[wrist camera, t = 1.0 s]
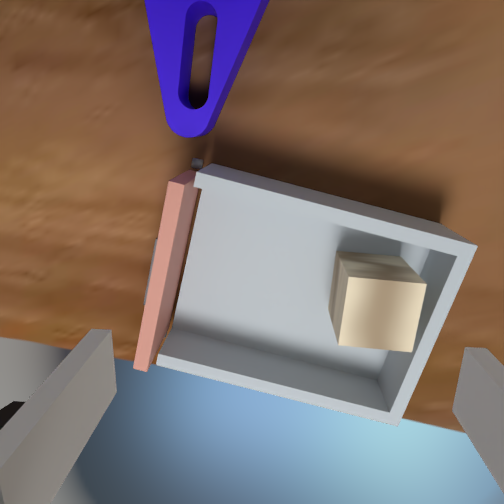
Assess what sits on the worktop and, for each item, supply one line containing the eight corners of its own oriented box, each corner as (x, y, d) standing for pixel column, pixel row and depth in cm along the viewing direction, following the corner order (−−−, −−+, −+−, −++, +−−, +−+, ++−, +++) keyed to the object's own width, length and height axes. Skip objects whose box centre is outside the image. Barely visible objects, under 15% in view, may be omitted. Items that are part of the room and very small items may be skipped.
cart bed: (162, 323, 45) (139, 363, 37) (197, 156, 39) (178, 163, 32) (376, 378, 45) (396, 428, 38) (440, 220, 40) (479, 242, 32)
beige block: (327, 308, 40) (338, 345, 33) (336, 250, 38) (348, 276, 32) (389, 314, 40) (412, 352, 33) (400, 256, 38) (426, 283, 31)
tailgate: (127, 366, 35) (146, 371, 35) (162, 179, 30) (184, 184, 30) (152, 323, 42) (168, 327, 42) (184, 168, 37) (202, 172, 38)
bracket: (155, -99, 34) (95, -211, 23) (285, -77, 34) (289, -179, 22) (138, 126, 39) (82, 126, 28) (250, 145, 39) (239, 153, 28)
